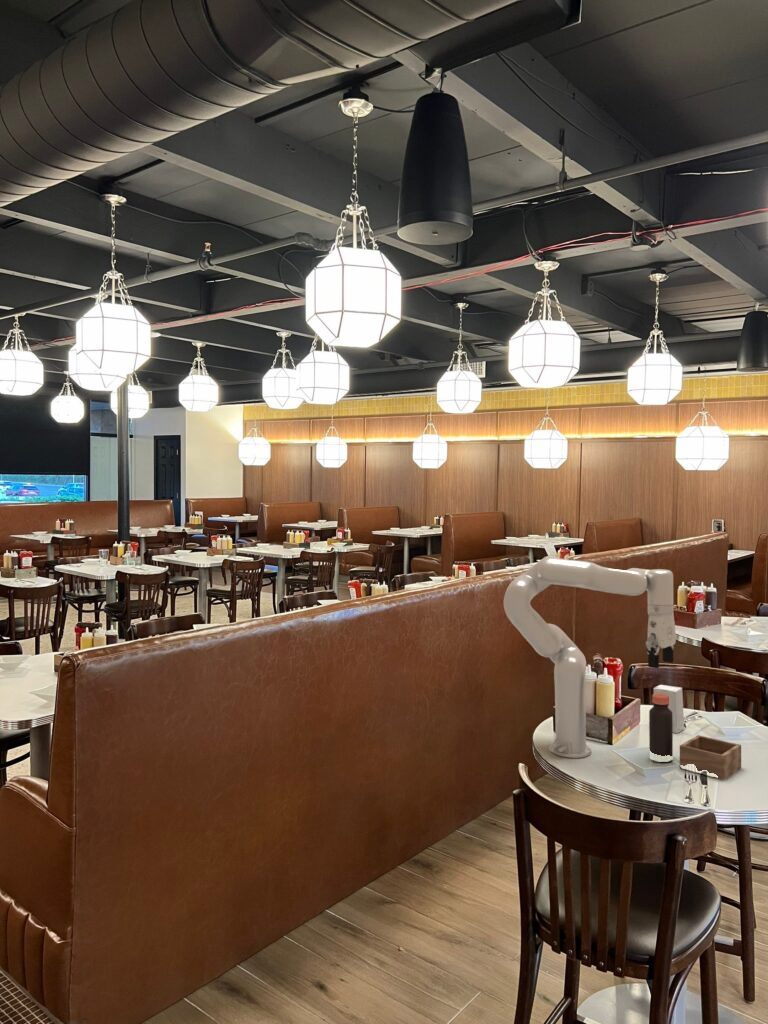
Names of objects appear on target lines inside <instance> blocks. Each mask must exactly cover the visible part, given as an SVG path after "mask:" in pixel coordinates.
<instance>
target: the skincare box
mask: <svg viewBox="0 0 768 1024" xmlns="http://www.w3.org/2000/svg"><path fill="white" fill-rule="evenodd" d="M653 694H665V695H668V696H669V705H668V708H669V709H670V710H671V711H672V714H673V733H674V734H678V733H680V732H683V731H685V730H684V729H685V720H684V719H685V717H684V699H683V698H684V696H683V687H679V686H672V685H665V684H659V685H657V686H655V687H654V688H653Z"/></svg>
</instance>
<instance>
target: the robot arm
mask: <svg viewBox="0 0 768 1024" xmlns="http://www.w3.org/2000/svg"><path fill="white" fill-rule="evenodd" d="M551 585H556V586H565V587H573V588H581V589H588V590H591V591H599V592H604V593H609V594H610V593H611V594H614V595H615V594H616V595H617V594H618V595H623V596H630V597H631V596H632V597H633V596H635V597H636V596H641V595H642V594H643V593H645V592H646V591H647V615H648V622H647V640H646V641H645V646H646V651H647V656H648V658H647V660H648V661H647V662H648V668H653V669H659V668H660V654H659V651H660V649H662V661H663V662H666V663H671V664H672V663H674V649H675V646H674V645H676V644H677V643H676V639H677V636H676V622H675V616H674V615H675V614H674V607H675V606H674V574H673V571H671V570H669V569H661V568H658V569H656V568H655V569H645V568H637V567H631V568H628V569H626V570H623V569H615V568H610V567H605V566H602V565H598V564H597V563H594V562H591V561H586V560H585V561H584V560H575V559H568V558H567V559H566V558H560V557H558V556H556V555H550V554H549V555H547V556H544V557H543V558H542V559H540V560H539V561H537V563H535V564H534V565H532V566H531V567H530V568H528V569H527V570H525V571H524V572H523V573H521V574H520V575H518V576H516V578H514V579H513V580H512V581H511V582H510V583H509V585H508V586H507V588H506V591H505V593H504V595H503V596H504V597H503V609H504V612H505V615H506V617H507V618H508V620H509V621H510V622H511V624H512V625H513V626H514V627H515V628H516V629H517V631H518V632H519V633H520V634H521V636H522V637H523V638H524V639H525V640H526V641H527V642H528V644H529V645H531V646H532V648H533V649H534V651H535V652H536V653H537V654H538V655H540V656H541V657H544V658H548V659H550V660H551V662H552V663H554V668H553V675H554V676H553V679H554V680H553V681H554V703H555V704H554V705H555V707H554V710H555V714H554V715H555V739H554V743H553V744H551V745H549V746H548V750H549V751H550V752H551V753H553V754H554V755H557V756H559V757H563V758H567V759H568V758H570V759H576V758H577V759H579V758H584V757H585V758H586V757H588V756H590V755H591V753H592V748H591V747H590V746H589V745H587V717H586V715H587V708H586V707H587V706H586V701H587V700H586V697H587V696H586V670H587V660H586V656H585V655H584V653H583V652H582V651H581V650H580V649H579V647H578V646H577V645H576V643H575V642H573V641H572V640H571V638H570V637H569V636H568V634H566V633H565V632H564V631H563V630H562V629H561V628H560V627H559V626H558V625H556V624H554V623H553V624H552V623H547V622H546V621H545V620H544V618H542V616H541V614H539V612H537V611H536V610H535V609H534V608H533V607H532V605H531V601H532V600H533V599H534V597H536V596H537V595H539V593H540V592H542V591H544V590H545V589H547V588H549V587H550V586H551Z"/></svg>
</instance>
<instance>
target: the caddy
mask: <svg viewBox="0 0 768 1024" xmlns="http://www.w3.org/2000/svg"><path fill="white" fill-rule="evenodd" d="M687 764H694V765H695V766H696V768H697V770H698V771H702V770H707V771H708V772H709V773H714V774H716V775H717V776H718V778H719V779H718V780H720V781H721V780H722V781H725V780H726V779H728V778H730V776H732V775H733V774H735V773H737V772H738V771H739V770H741V769H742V744H739V743H734V742H729V741H725V740H721V739H716V738H712V737H708V736H704V735H699V734H697V735H696V736H694V737H692V738H691V739H689V740H687V741H685V742H684V743H682V744H680V745H679V766H680V765H683V766H685V765H687Z"/></svg>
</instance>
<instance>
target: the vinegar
mask: <svg viewBox="0 0 768 1024" xmlns="http://www.w3.org/2000/svg"><path fill="white" fill-rule="evenodd" d="M651 697H652V698H651V700H652V701H651V702H652V705H653V706H652V708H650V709H649V711H648V713H649V715H648V717H649V718H648V720H649V722H648V723H649V727H648V728H649V729H648V731H649V732H648V733H649V736H648V737H649V738H648V740H649V749H650V751H651V752H652V753H654V754H657V755H661V756H665V755H666V756H667V755H670V756H673V753H674V752H673V751H674V750H673V749H674V746H673V737H674V736H673V735H674V734H673V714H672V711H671V710H670V709H669V708H668V705H669V696H668V695H665V694H654V693H653V694H652V695H651ZM673 757H674V756H673Z"/></svg>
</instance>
